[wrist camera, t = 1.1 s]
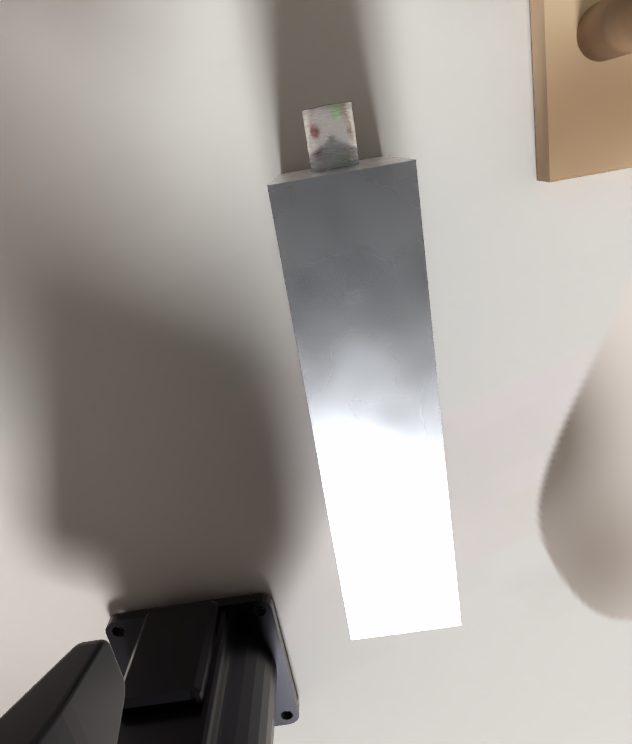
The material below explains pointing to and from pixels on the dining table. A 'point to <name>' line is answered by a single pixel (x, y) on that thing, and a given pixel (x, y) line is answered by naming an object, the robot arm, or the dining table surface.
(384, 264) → the gray rectangular plank
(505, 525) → the dining table surface
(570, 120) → the tool rest
